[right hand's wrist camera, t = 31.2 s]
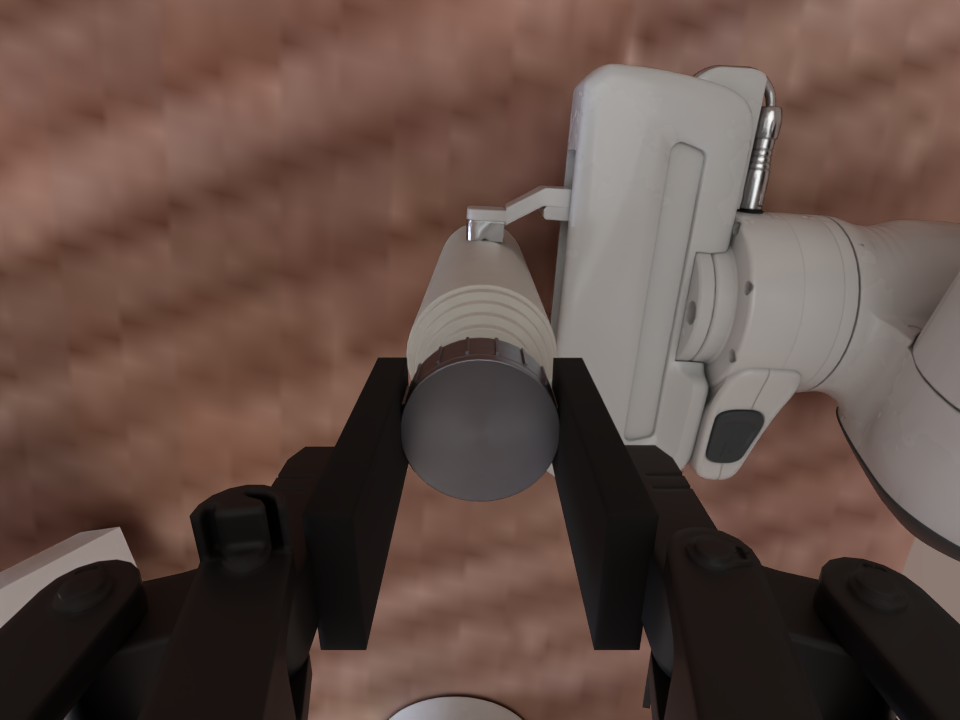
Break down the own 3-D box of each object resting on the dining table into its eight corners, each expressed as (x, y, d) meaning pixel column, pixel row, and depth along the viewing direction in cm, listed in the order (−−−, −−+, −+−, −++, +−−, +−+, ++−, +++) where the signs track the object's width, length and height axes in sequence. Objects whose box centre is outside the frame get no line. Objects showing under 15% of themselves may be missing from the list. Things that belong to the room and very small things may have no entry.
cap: (567, 343, 14) (577, 366, 12) (542, 476, 15) (548, 511, 14) (411, 326, 14) (403, 347, 12) (401, 462, 15) (392, 495, 14)
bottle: (432, 294, 34) (371, 479, 15) (449, 213, 32) (403, 304, 13) (511, 311, 34) (549, 513, 15) (532, 232, 32) (604, 349, 13)
